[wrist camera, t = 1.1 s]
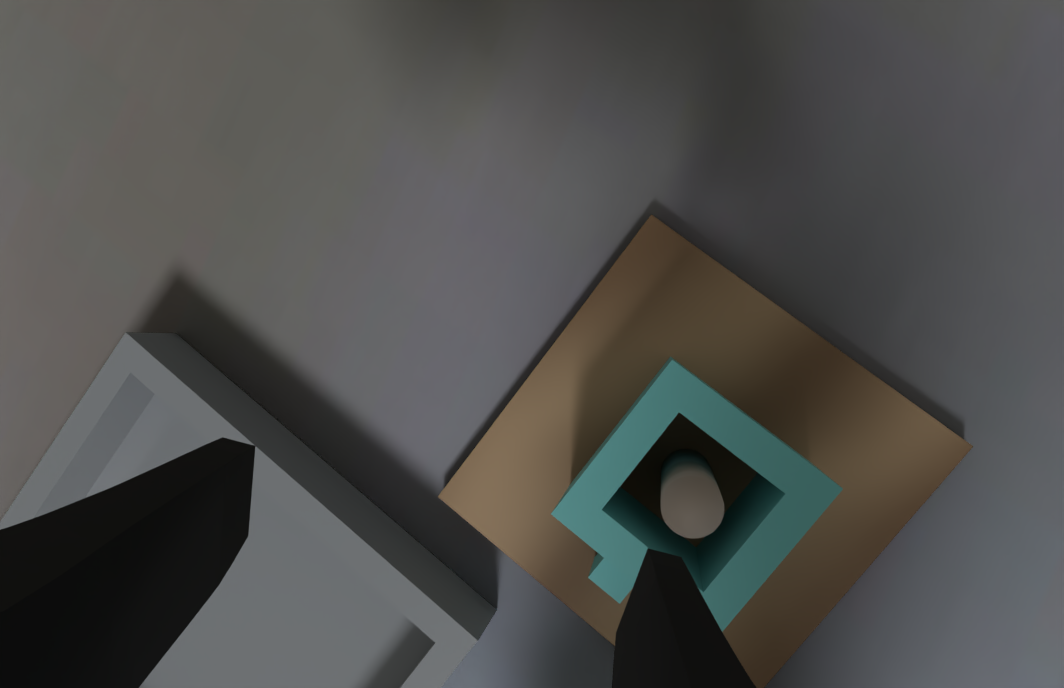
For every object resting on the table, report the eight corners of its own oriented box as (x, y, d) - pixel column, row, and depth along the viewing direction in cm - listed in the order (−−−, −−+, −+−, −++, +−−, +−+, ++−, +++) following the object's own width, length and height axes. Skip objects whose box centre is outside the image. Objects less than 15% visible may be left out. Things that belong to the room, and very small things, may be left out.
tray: (496, 609, 24) (477, 640, 21) (276, 889, 26) (235, 947, 23) (175, 333, 26) (125, 332, 24) (-8, 605, 28) (-73, 631, 25)
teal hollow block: (810, 461, 21) (843, 488, 17) (675, 623, 22) (677, 684, 18) (670, 356, 22) (671, 359, 18) (545, 516, 23) (520, 552, 19)
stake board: (964, 443, 21) (1061, 476, 16) (720, 725, 22) (737, 839, 17) (651, 217, 23) (648, 182, 18) (443, 493, 24) (384, 533, 19)
